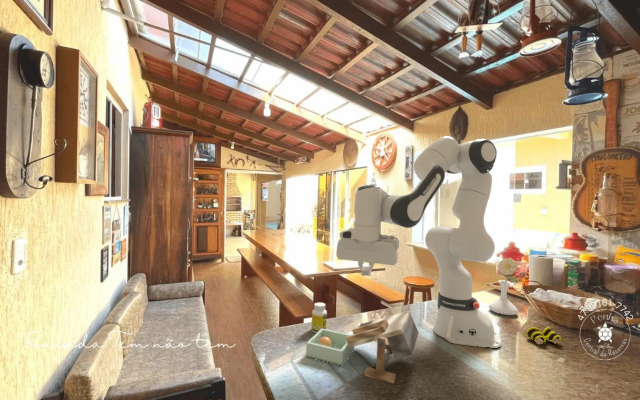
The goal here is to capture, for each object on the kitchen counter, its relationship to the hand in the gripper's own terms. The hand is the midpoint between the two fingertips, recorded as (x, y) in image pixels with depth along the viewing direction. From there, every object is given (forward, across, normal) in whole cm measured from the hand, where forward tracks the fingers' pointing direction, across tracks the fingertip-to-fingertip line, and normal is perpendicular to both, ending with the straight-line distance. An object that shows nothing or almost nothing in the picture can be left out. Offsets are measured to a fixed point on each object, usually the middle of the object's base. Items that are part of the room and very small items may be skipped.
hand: (366, 275), depth 105 cm
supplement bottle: (+24, +18, -3) cm, 30 cm away
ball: (+21, +10, +10) cm, 25 cm away
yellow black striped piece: (+25, -57, -33) cm, 70 cm away
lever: (+20, -9, +6) cm, 23 cm away
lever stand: (+24, -9, +6) cm, 26 cm away
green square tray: (+24, +8, +10) cm, 27 cm away
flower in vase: (+25, -47, -58) cm, 79 cm away
